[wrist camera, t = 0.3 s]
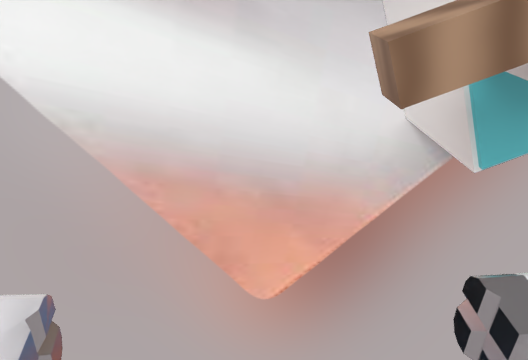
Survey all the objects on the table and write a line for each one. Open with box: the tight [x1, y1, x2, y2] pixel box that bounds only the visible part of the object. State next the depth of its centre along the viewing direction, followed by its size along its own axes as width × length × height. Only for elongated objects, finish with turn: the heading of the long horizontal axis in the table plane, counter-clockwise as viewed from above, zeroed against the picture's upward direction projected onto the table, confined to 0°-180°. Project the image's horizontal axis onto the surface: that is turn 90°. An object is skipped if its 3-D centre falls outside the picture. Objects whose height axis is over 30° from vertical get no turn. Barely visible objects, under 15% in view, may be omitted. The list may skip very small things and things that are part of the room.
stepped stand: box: [383, 0, 528, 173], centre depth 44 cm, size 12×22×26 cm, turn 18°
